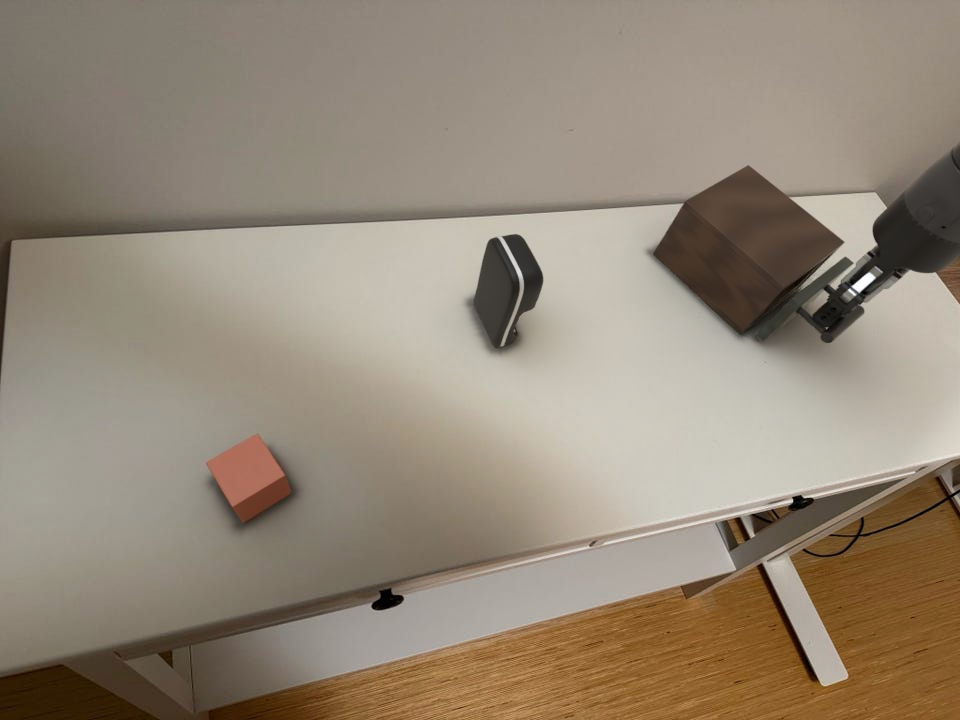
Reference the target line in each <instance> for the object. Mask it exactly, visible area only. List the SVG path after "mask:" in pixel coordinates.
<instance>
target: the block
mask: <svg viewBox="0 0 960 720" xmlns="http://www.w3.org/2000/svg"><path fill="white" fill-rule="evenodd" d="M205 465H206V466H207V469H208V470H209V471H210V473H211V475H212V476H213V478H214V479H215V481H216V483H217V484H218V486H219V488H220V490H221V491H222V493H223V495H224V496H225V498H226V499H227V501H228V503H229V505H230V506H231V508H232V509H233V511H234V512H235V514H236V515H237V517H238V518H239V520H240V521H241V523H242V524H244V523H246V522H248V521H249V520H251V519H252V518H254V517H256V516H257V515H259V514H260V513H262V512H263V511H265V510H267V509H268V508H270V507H272V506H273V505H274V504H277V503H278V502H279V501H281V500H284V499H285V498H286V497H288V496H290V495H291V494H292V489H291V487H290V484H289V481H288V478H287V476H286V474H285V472H284V471H283V468H282V467H281V466H280V464H279V463H278V461H277V460H276V458H275V457H274V455H273V454H272V452H271V451H270V449H269V447H268V446H267V445H266V443H265V441H264V440H263V438H262V437H261V435H260V433H256V434H254V435H252V436H250V437H248V438H246V439H244V440H243V441H241V442H240V443H238V444H236V445H234V446H232V447H231V448H229V449H227V450H225V451H223V452H221V453H220V454H218V455H216V456H215V457H213V458H211V459H209V460H207V461H205Z"/></svg>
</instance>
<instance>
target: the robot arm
mask: <svg viewBox="0 0 960 720" xmlns="http://www.w3.org/2000/svg"><path fill="white" fill-rule="evenodd" d="M871 232H872V236H873V237H872V238H873V240H874V241H875V243H876V245H875V246H874V247H872V248H871V249H870V250H868V251H867V252H866V253H865V254H863V255H862V256H861V257H860V258H859V259H858V260H857V261H856V262H855V267H854V268H852V269H851V270H850V271H849V272H848V273H847V274H846V275H845V276H844V277H843V278H842V279H840V283H839V284H838V285H837V288H836V289H835V291H834V292H833V293H831V294H830V295H829V294H828V296H827V298H826V302H824V303H823V304H822V305H821V306H820V307H819V308H818V309H816V310H815V312H813V313H812V317H814V318H815V319H816V320H817V321H818V322H819V323H821V324H822V325H823V326H824V327H825V328H826V329H827V328H828V327H830V326H831V325H832V324H833V323H834V322H835V321H837V320H838V319H839V318H840V317H841V316H843V315H846V314H847V313H848V314H849V313H850V312H852V310H854V309H855V308H856V306H857V305H860V306H862V305H863V304H867V303H869V302H870V301H871V300H872V299H874V298H875V297H877V295H878V294H880V293H881V292H882V291H884V290H889V289H890V288H891V287H893V286H894V285H895V284H896V283H898V282H899V281H900V280H901V279H902V278H903V277H904V276H905V275H906V274H908V273H909V272H910V271H912V272H915V273H920V274H934V273H937V272H941V271H943V270H944V269H946V268H947V267H948V266H949V265H951V264H952V263H954V262H955V261H956V260H957V259H958V258H959V257H960V140H959V141H958V142H957V143H956V144H955V145H954V146H953V147H952V148H951V149H950V150H949V151H947V152H946V153H945V154H944V155H942V156H941V157H939V159H937V160H936V161H934V162H933V163H932V164H931V165H930V166H928V167H927V168H926V169H925V170H924V171H923V172H922V173H921V174H920V175H919V176H918V177H917V178H916V179H915V180H914V181H913V182H912V183H911V184H910V185H909V186H908V187H907V188H906V189H905V190H904V191H903V192H902V193H901V194H900V195H899V196H897V198H895V200H894V201H892V202H891V204H889V206H888V207H886V208H885V209H884V211H882V212H881V213H880V214H879V216H877V217H876V219H875V220H874V222H873V224H872V231H871Z"/></svg>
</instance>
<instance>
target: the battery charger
mask: <svg viewBox="0 0 960 720" xmlns="http://www.w3.org/2000/svg"><path fill="white" fill-rule="evenodd" d="M478 275H479V276H478V280H477V285H476V289H475V294H474V298H473V305H474V306H475V309H476V311H477V314H478V315H479V318H480V320H481V322H482V324H483V326H484V328H485V331H486V332H487V335H488V337H489V339H490V341H491V343H492V345H493V346H494V347H500V348H501V347H504V346H505V345H509V344H512V343H513V342H515V341H516V340H517V338H518V335H519V332H518V329H517V327H516V326H517V324H518V321H519V319H520V317H521V316H522V315H523V313H526V312H529V311H532V310H533V309H535V308H536V304H537V302H538V300H539V298H540V295H541V291H542V288H543V285H544V273H543V271H542V268H541V266H540V265H539V263H538V261H537V258H536V257H535V255H534V253H533V251H532V249H531V248H530V246H529V245H528V243H527V241H526V240H525V238H524V237H523V236H521V234H517V233H514V234H507V235H502V236H501V235H496V236H494V237H491V238H489V240H487V243H486V245H485V250H484V253H483V256H482V261H481V266H480V270H479V274H478Z"/></svg>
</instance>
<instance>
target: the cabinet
mask: <svg viewBox="0 0 960 720" xmlns="http://www.w3.org/2000/svg"><path fill="white" fill-rule="evenodd" d="M844 244H845V241H844V240H843V239H842V238H841V237H839V236H838V235H837V234H835V233H834V232H833V231H832V230H831V229H829V227H827V226H826V225H824V224H823V223H822V222H821V221H819V220H818V219H817V218H816V217H815V216H814V215H812V214H810V213H809V212H808V211H807V210H806V209H804V207H802V206H801V205H799V204H798V203H797V202H795V201H794V200H793V199H792V198H791V197H790V196H788V195H787V194H786V193H784V192H783V191H782V190H781V189H779V188H778V187H777V186H775V184H773V183H772V182H770V181H769V180H768V179H767V178H766V177H764V176H763V175H762V174H760V173H759V172H758V171H757V170H756V169H754V168H753V167H751V166H750V165H749V164H748V165H746V166H744V167H743V168H741V169H738V170H737V171H735V172H734V173H732V174H730V175H728V176H726V177H724V178H723V179H720V181H717V182H716V183H714V184H713V185H711V186H708V187H707V188H704V190H701V191H700V192H698V193H697V194H694V195H693V196H691V197H690V198H688V199H686V200H685V201H684V202H683V203H682V205H681V206H680V208H679V210H678V212H677V214H676V215H675V217H674V218H673V220H672V222H671V223H670V225H669V227H668V228H667V230H666V232H665V233H664V235H663V236H662V238H661V239H660V242H659V243H658V245H657V246H656V248H655V249H654V251H653V253H652V254H653V256H655V257H656V258H657V259H658V260H659V261H660V262H661V263H662V264H663V265H665V267H666V268H667V269H668V270H670V272H672V273H673V274H674V275H675V276H676V277H677V278H678V279H679V280H681V281H682V283H684V284H685V285H686V286H687V287H688V288H689V289H690V290H691V291H693V293H695V294H696V295H697V296H698V297H699V298H700V299H701V300H702V301H703V302H704V303H705V304H706V305H707V306H708V307H710V308H711V309H712V310H713V311H714V312H715V313H716V314H717V315H718V316H719V317H721V319H722V320H724V322H726V323H727V324H728V325H729V326H730V327H731V328H732V329H733V330H734V331H736V333H738V334H739V335H741V334H743V333H744V332H746V331H747V330H748V329H749V328H751V326H753V325H755V324H756V323H757V322H758V321H759V320H761V319H762V318H764V317H765V316H766V315H767V314H769V313H770V312H771V311H772V310H773V309H775V308H776V307H778V306H779V305H780V304H782V303H783V302H784V301H785V300H787V299H788V298H789V297H791V296H792V295H793V294H795V293H796V292H797V291H798V290H799V289H800V288H801V287H803V285H804V284H805V283H807V281H808V280H809V279H811V277H812V276H814V274H815V273H816V272H817V271H818V270H819V269H820V268H821V267H822V266H823V265H824V264H825V263H826V262H827V261H828V260H829V259H830V258H831V257H832V256H833V255H834V254H835V253H836V252H837V251H838V250H839V249H840V248H841V247H842V246H843V245H844ZM826 257H827V258H826ZM825 258H826V259H825ZM824 259H825V260H824ZM822 260H824V261H823V262H822V263H821V264H820V265H819V266H818V267H817V268H816V269H815V270H814V271H813V272H812V273H811V274H810V275H809V276H808V277H807V278H806V279H805V280H804V281H803V282H802V283H801V284H800V285H799V286H798V287H797V288H796V289H795V290H793V291H792V292H791V293H789V294H788V295H787V296H785V297H784V298H783V299H782V300H780V301H779V302H778V303H776V304H775V305H774V306H773V307H771V308H770V309H769V310H767V311H766V312H765V313H763V314H762V315H761V316H760V317H758V316H759V315H760V314H761V313H762V312H763V311H764V310H765V309H766V308H767V307H768V306H769V305H770V304H771V303H772V302H773V301H774V300H775V299H776V298H777V297H778V296H779V295H780V294H781V293H782V292H783V290H784V289H786V288H787V287H788V286H789V285H791V284H792V283H793V282H795V281H796V280H797V279H799V278H800V277H801V276H803V275H804V274H805V273H807V272H808V271H809V270H810V269H812V268H813V267H814V266H816V265H817V264H818V263H820V262H821V261H822ZM757 317H758V318H757ZM756 318H757V319H756ZM755 319H756V320H755Z"/></svg>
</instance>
